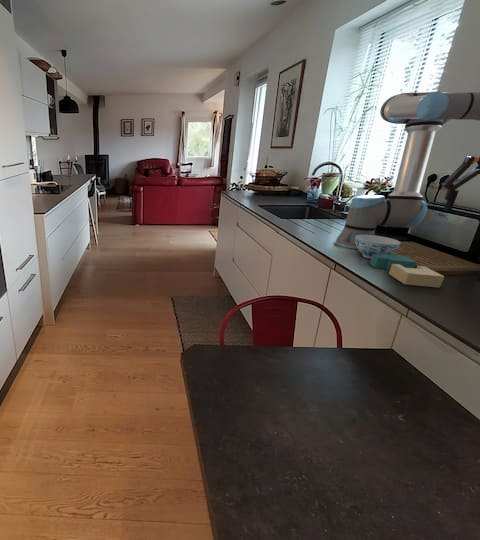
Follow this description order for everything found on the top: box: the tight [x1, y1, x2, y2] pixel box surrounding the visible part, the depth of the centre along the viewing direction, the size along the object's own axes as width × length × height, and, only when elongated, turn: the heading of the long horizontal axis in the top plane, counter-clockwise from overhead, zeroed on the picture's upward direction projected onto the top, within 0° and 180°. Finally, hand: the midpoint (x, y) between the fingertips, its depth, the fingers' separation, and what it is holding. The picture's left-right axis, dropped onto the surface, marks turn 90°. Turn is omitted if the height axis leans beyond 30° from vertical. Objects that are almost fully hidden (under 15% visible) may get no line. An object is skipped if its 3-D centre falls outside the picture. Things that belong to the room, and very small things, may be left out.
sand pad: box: [388, 264, 445, 289], centre depth 110 cm, size 10×10×4 cm
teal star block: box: [369, 254, 417, 271], centre depth 123 cm, size 11×8×4 cm
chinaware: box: [355, 235, 401, 260], centre depth 135 cm, size 15×15×8 cm
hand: (475, 213), depth 101 cm, fingers open, 13 cm apart
